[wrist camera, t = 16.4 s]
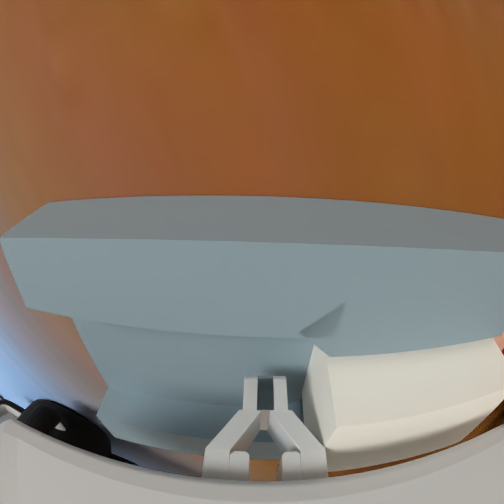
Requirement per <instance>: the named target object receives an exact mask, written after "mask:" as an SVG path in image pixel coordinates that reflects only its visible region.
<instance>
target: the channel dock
mask: <svg viewBox="0 0 504 504" xmlns="http://www.w3.org/2000/svg"><path fill="white" fill-rule="evenodd" d="M0 243H1V246H2V249H3V252H4V254H5V257H6V260H7V263H8V265H9V268H10V270H11V273H12V275H13V278H14V280H15V283H16V285H17V287H18V289H19V292H20V294H21V296H22V298H23V300H24V303H25V305H26V307H27V308H30V309H34V310H38V311H43V312H48V313H53V314H57V315H63V316H68V317H71V318H72V320H73V322H74V324H75V327H76V329H77V331H78V333H79V335H80V337H81V339H82V341H83V343H84V345H85V347H86V349H87V351H88V353H89V354H90V356H91V358H92V360H93V362H94V364H95V365H96V367H97V369H98V371H99V372H100V374H101V376H102V378H103V379H104V381H105V383H106V384H107V386H108V388H107V391H106V393H105V395H104V398H103V400H102V403H101V405H100V408H99V410H98V413H97V415H96V416H97V417H98V419H99V420H100V421H101V422H102V423H103V425H104V426H105V427H106V428H107V429H108V430H109V432H110V433H111V434H112V435H113V436H114V437H115V438H119V439H122V440H126V441H130V442H134V443H138V444H142V445H147V446H151V447H156V448H161V449H166V450H171V451H177V452H183V453H190V454H197V455H205V448H206V447H207V446H208V445H209V443H210V442H211V441H212V440H213V439H214V438H215V437H216V436H217V435H218V433H219V432H220V431H221V430H222V429H223V428H224V427H225V426H226V424H227V423H228V422H229V421H230V420H231V419H232V417H233V416H234V415H235V414H236V413H237V412H238V410H243V396H244V379H245V375H248V376H285V377H286V382H287V397H288V410H292V411H293V412H294V413H295V414H296V416H297V417H298V418H299V419H300V420H301V422H302V423H303V424H304V415H303V401H302V389H303V386H304V382H305V378H306V374H307V370H308V367H309V363H310V359H311V354H312V350H313V346H314V345H315V346H317V347H318V348H319V349H320V350H322V351H323V352H324V353H326V354H327V355H328V356H329V357H343V356H361V355H375V354H387V353H398V352H407V351H416V350H424V349H431V348H438V347H445V346H451V345H457V344H463V343H468V342H473V341H479V340H484V339H488V338H493V339H494V341H495V342H496V344H497V345H498V347H499V349H500V350H501V351H502V350H503V348H504V219H501V218H495V217H489V216H483V215H476V214H470V213H463V212H455V211H448V210H440V209H432V208H423V207H415V206H405V205H395V204H385V203H374V202H361V201H348V200H333V199H317V198H297V197H271V196H217V195H196V196H143V197H118V198H99V199H83V200H69V201H57V202H48V203H47V204H45V205H44V206H42V207H41V208H39V209H38V210H36V211H35V212H33V213H32V214H30V215H29V216H28V217H26V218H25V219H23V220H22V221H20V222H19V223H18V224H16V225H15V226H14V227H12V228H11V229H10V230H8V231H7V232H6V233H4V234H3V235H2V236H0ZM245 452H247V453H248V454H249V459H258V460H281V457H282V455H283V454H282V452H281V451H280V449H279V448H278V446H277V445H276V443H275V442H274V441H273V439H272V438H271V436H270V435H269V433H268V432H267V430H260V431H259V433H258V434H257V436H256V437H255V439H254V440H253V441H252V443H251V444H250V445H249V447H248V448H247V450H246V451H245Z"/></svg>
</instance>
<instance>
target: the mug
mask: <svg viewBox="0 0 504 504" xmlns="http://www.w3.org/2000/svg"><path fill="white" fill-rule="evenodd" d="M7 413H11V414H13V415H15V416H17V417H18V418H17V419H16V420H18V421H20V422H22V423H24V424H26V425H28V426H29V427H31V428H33V429H35V430H38V431H40V432H42V433H44V434H46V435H48V436H51V437H53V438H55V439H57V440H60V441H62V442H65V443H67V444H70V445H72V446H75V447H77V448H80V449H83V450H86V451H88V452H91V453H94V454H97V455H100V456H103V457H107V458H110V459H113V460H117V461H120V462H124V463H128V464H131V465H135V466H138V465H137V464H135V463H133V462H131V461H129V460H126V459H124V458H122V457H119V456H117V455H114V454H112V453H111V444H110V441H109V439H108V438H107V436H106V435H105V434H104V433H103V432H102V431H101V430H99V429H98V428H97V427H96V426H94V425H93V424H91V423H90V422H88V421H87V420H85V419H84V418H82V417H80V416H79V415H77V414H75V413H74V412H72V411H70V410H68V409H66V408H64V407H62V406H60V405H58V404H56V403H53V402H51V401H48V400H42V399H38V400H36V401H34V402H33V403H32V404H30V405H29V406H28V407H27V408H26V409H23V408H22V407H20V406H18V405H16V404H15V403H13V402H11V401H9V400H5V399H1V400H0V418H1V417H2V416H3V415H5V414H7ZM139 467H140V466H139Z"/></svg>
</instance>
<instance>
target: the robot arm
mask: <svg viewBox="0 0 504 504" xmlns="http://www.w3.org/2000/svg"><path fill="white" fill-rule="evenodd" d="M1 399H2V398H1V397H0V400H1ZM17 418H18V417H17V416H15V415H13V414H11V413H7V414H5V415H3V416H2V417H1V418H0V504H504V424H502V425H500V426H498V427H496V428H494V429H492V430H490V431H488V432H486V433H484V434H482V435H479V436H477V437H475V438H473V439H470V440H468V441H466V442H463V443H461V444H459V445H456V446H454V447H451V448H448V449H446V450H443V451H440V452H437V453H434V454H431V455H428V456H425V457H422V458H419V459H416V460H412V461H409V462H405V463H402V464H398V465H394V466H390V467H386V468H381V469H377V470H372V471H367V472H361V473H356V474H350V475H343V476H336V477H328V469H327V460H326V451H325V448H324V447H323V446H322V445H321V443H320V442H319V441H318V440H317V439H316V438H315V437H314V435H313V434H312V433H311V432H310V431H309V430H308V429H307V427H306V426H305V425H304V424H303V423H302V422H301V420H300V419H299V418H298V417H297V416H296V414H295V413H294V412H293V411H292V410H288V397H287V382H286V377H285V376H248V375H245V379H244V396H243V410H238V412H237V413H236V414H235V415H234V416H233V417H232V419H231V420H230V421H229V422H228V423H227V424H226V426H225V427H224V428H223V429H222V430H221V431H220V432H219V433H218V435H217V436H216V437H215V438H214V439H213V440H212V441H211V442H210V443H209V445H208V446H207V447H206V448H205V455H204V462H203V470H202V477H194V476H186V475H180V474H174V473H168V472H163V471H158V470H153V469H148V468H144V467H139V466H135V465H131V464H128V463H124V462H120V461H117V460H113V459H110V458H107V457H103V456H100V455H97V454H94V453H91V452H88V451H86V450H83V449H80V448H77V447H75V446H72V445H70V444H67V443H65V442H62V441H60V440H57V439H55V438H53V437H51V436H48V435H46V434H44V433H42V432H40V431H38V430H35V429H33V428H31V427H29V426H28V425H26V424H24V423H22V422H20V421H18V420H16V419H17ZM260 430H267V432H268V433H269V435H270V436H271V438H272V439H273V441H274V442H275V443H276V445H277V446H278V448H279V449H280V451H281V452H282V454H283V455H282V457H281V460H280V463H279V466H278V469H277V481H249V454H248V453H247V452H245V451H246V450H247V448H248V447H249V445H250V444H251V443H252V441H253V440H254V439H255V437H256V436H257V434H258V433H259V431H260Z"/></svg>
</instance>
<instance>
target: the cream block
mask: <svg viewBox="0 0 504 504" xmlns="http://www.w3.org/2000/svg"><path fill="white" fill-rule="evenodd" d="M503 400H504V355H503V354H502V352H501V350H500V349H499V347H498V345H497V344H496V342H495V341H494V339H493V338H488V339H484V340H479V341H473V342H468V343H463V344H457V345H451V346H445V347H438V348H431V349H424V350H416V351H407V352H398V353H387V354H375V355H361V356H343V357H329V356H328V355H327V354H326V353H324V352H323V351H322V350H320V349H319V348H318V347H317V346H315V345H314V346H313V350H312V354H311V359H310V363H309V367H308V370H307V374H306V378H305V382H304V386H303V389H302V401H303V415H304V425H305V426H306V427H307V429H308V430H309V431H310V432H311V433H312V434H313V435H314V437H315V438H316V439H317V440H318V441H319V442H320V443H321V445H322V446H323V447H324V448H325V451H326V460H327V469H328V472H333V471H341V470H349V469H356V468H363V467H369V466H374V465H379V464H384V463H389V462H394V461H398V460H402V459H406V458H410V457H414V456H418V455H421V454H425V453H428V452H431V451H435V450H438V449H441V448H444V447H447V446H450V445H452V444H455V443H458V442H460V441H461V440H462V439H463V438H464V437H466V436H467V435H468V434H469V433H470V432H471V431H472V430H474V429H475V428H476V427H477V426H478V425H479V424H480V423H481V422H482V421H483V420H484V419H485V418H486V417H487V416H488V415H489V414H490V413H491V412H492V411H493V410H494V409H495V408H496V407H497V406H498V405H499V404H500V403H501V402H502V401H503Z"/></svg>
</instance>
